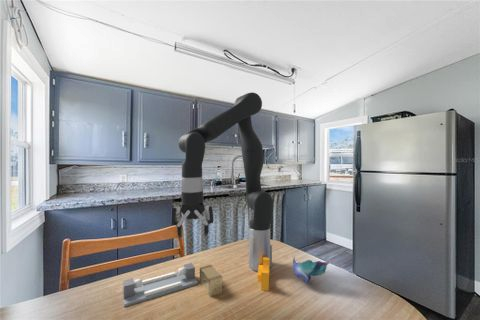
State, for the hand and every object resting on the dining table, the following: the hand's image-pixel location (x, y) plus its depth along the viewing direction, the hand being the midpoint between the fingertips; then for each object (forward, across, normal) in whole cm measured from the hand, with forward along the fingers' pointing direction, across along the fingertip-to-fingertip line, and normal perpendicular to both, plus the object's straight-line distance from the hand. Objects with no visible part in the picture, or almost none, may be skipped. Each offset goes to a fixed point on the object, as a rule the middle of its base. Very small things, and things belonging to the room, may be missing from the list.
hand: (193, 235), depth 73 cm
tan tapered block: (+20, -6, -2) cm, 21 cm away
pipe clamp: (+21, -26, -4) cm, 33 cm away
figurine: (+21, -43, -2) cm, 48 cm away
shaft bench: (+20, +12, -4) cm, 23 cm away
